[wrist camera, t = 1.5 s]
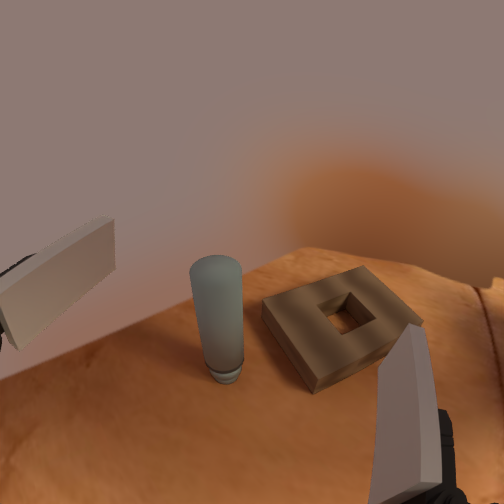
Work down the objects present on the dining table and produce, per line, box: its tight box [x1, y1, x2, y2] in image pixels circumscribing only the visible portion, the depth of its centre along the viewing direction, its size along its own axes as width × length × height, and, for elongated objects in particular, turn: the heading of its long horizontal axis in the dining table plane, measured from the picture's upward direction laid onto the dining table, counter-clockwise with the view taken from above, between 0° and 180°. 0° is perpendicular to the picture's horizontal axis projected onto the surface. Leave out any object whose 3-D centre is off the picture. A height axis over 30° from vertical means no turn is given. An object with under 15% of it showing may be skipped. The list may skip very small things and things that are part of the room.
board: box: [261, 266, 423, 394], centre depth 39 cm, size 18×14×4 cm
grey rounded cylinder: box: [190, 255, 244, 384], centre depth 30 cm, size 4×4×16 cm
